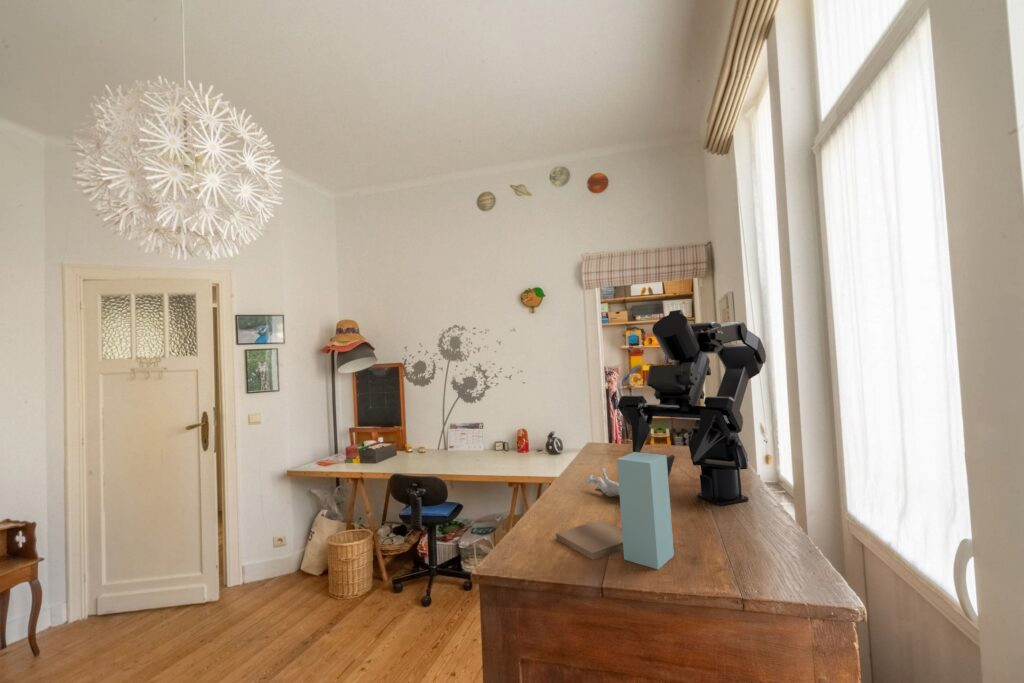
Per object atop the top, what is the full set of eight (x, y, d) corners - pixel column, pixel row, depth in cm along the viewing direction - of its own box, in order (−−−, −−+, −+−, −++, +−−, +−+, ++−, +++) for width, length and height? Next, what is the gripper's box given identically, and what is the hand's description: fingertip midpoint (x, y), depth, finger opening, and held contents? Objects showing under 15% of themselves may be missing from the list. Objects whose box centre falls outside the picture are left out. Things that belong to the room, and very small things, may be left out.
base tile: (600, 528, 75) (599, 519, 75) (639, 546, 67) (638, 536, 67) (556, 542, 71) (555, 533, 71) (593, 563, 63) (592, 553, 63)
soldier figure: (610, 490, 97) (649, 484, 87) (603, 510, 94) (642, 506, 84) (584, 469, 96) (621, 460, 86) (575, 488, 93) (612, 481, 83)
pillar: (641, 546, 66) (634, 451, 66) (673, 555, 62) (666, 455, 63) (624, 559, 62) (617, 458, 63) (658, 569, 59) (650, 463, 59)
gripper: (618, 349, 78) (587, 421, 70) (730, 342, 66) (709, 429, 57) (642, 390, 84) (616, 461, 75) (750, 390, 71) (733, 476, 63)
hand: (662, 456), depth 68 cm, fingers open, 9 cm apart
